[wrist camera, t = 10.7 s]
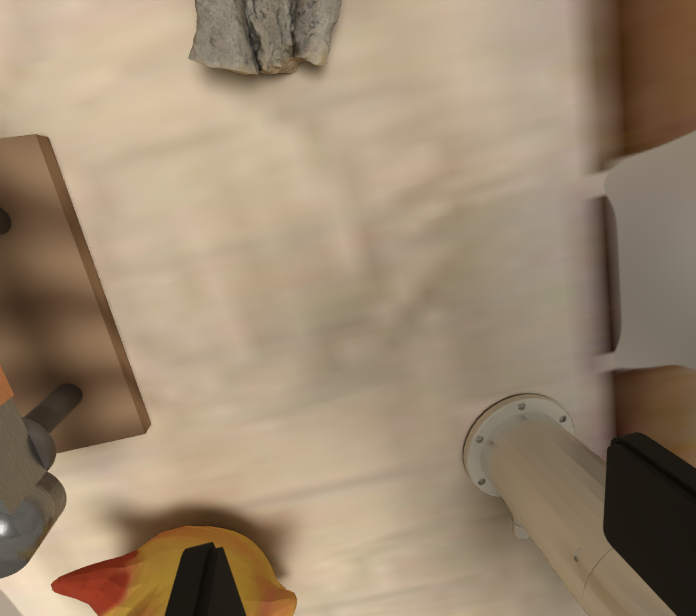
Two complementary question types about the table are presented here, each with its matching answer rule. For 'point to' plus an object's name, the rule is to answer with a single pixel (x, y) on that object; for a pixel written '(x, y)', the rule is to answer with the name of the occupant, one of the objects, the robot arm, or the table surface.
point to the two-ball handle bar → (23, 489)
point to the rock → (263, 34)
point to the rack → (57, 314)
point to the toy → (160, 571)
